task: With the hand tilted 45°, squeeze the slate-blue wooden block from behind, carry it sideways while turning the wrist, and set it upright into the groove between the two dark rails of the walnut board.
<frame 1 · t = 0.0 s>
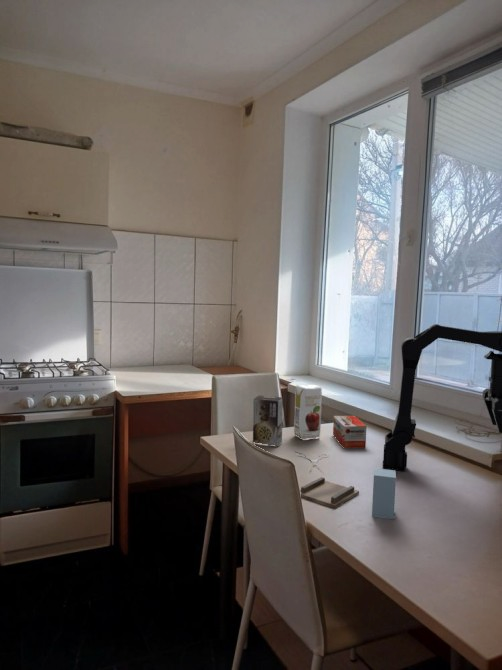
hand: (497, 428, 146), 15 cm above the table, tool pointing down, fingers open, 9 cm apart
medicine box: (348, 442, 179), on the table
slate-blue block: (382, 513, 121), on the table
juice carton: (306, 438, 183), on the table
walnut groove board: (327, 494, 132), on the table
scissors: (313, 464, 157), on the table
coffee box: (267, 444, 175), on the table
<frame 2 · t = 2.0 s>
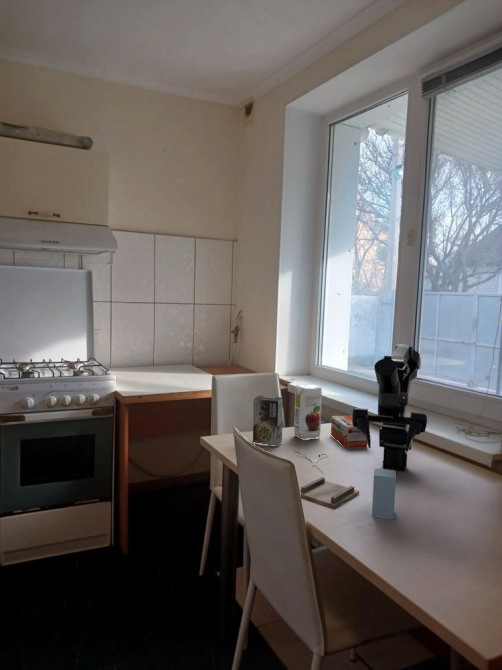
hand: (388, 449, 128), 13 cm above the table, tool tilted 45°, fingers open, 9 cm apart
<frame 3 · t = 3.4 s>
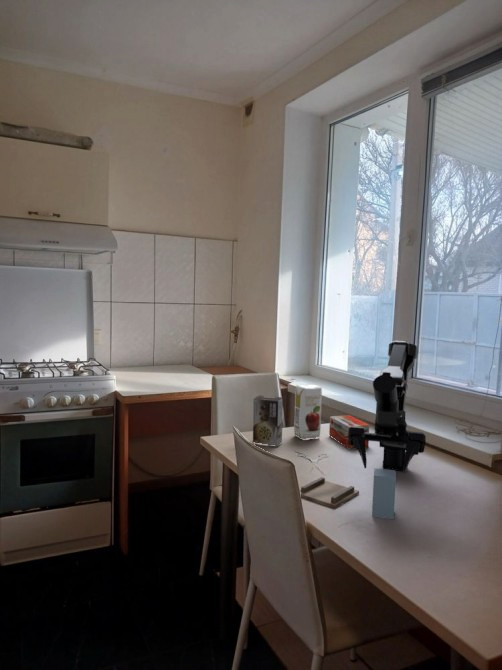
hand: (384, 469, 123), 10 cm above the table, tool tilted 45°, fingers open, 9 cm apart
nothing on the table moved.
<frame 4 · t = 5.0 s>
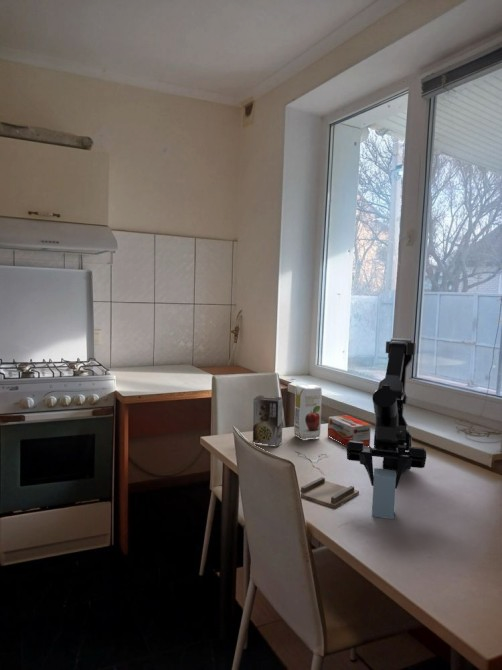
hand: (384, 486, 119), 7 cm above the table, tool tilted 45°, fingers closed on slate-blue block, 5 cm apart
slate-blue block: (382, 513, 121), on the table, touching gripper
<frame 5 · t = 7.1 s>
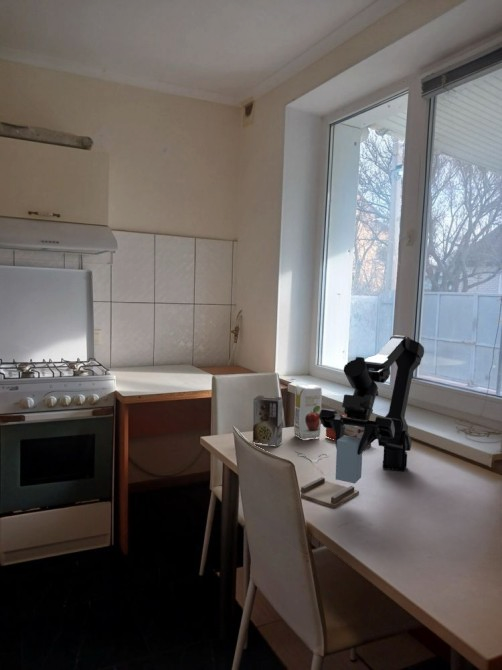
hand: (347, 452, 125), 13 cm above the table, tool tilted 45°, fingers closed on slate-blue block, 5 cm apart
slate-blue block: (348, 478, 126), point 6 cm above the table, touching gripper
when the fingers open (9 cm above the table, at t = 9.2 s): slate-blue block stays where it is, resting on walnut groove board.
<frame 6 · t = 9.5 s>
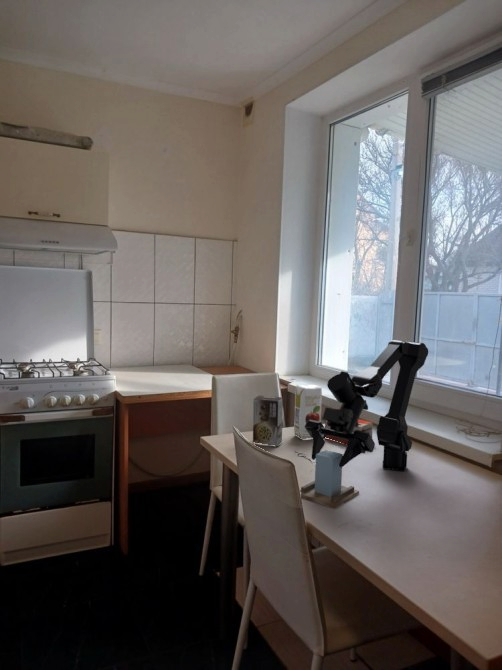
hand: (326, 462, 130), 9 cm above the table, tool tilted 45°, fingers open, 8 cm apart
slate-blue block: (327, 491, 132), point 1 cm above the table, touching walnut groove board
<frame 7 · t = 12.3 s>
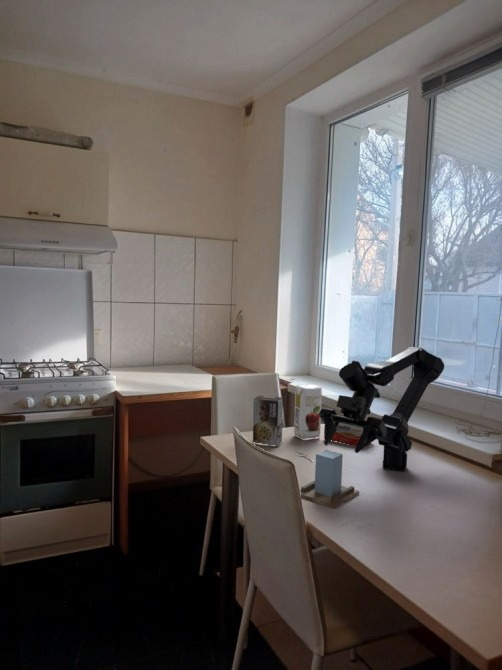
hand: (340, 448, 135), 11 cm above the table, tool tilted 45°, fingers open, 9 cm apart
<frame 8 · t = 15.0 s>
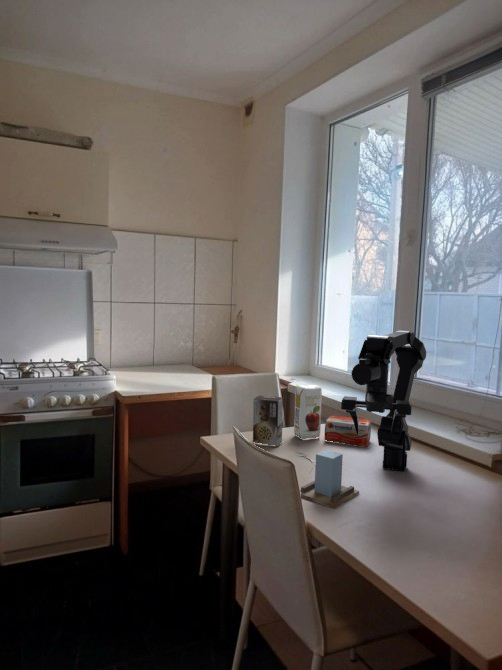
hand: (374, 435, 141), 13 cm above the table, tool pointing down, fingers open, 9 cm apart
at the end: slate-blue block 0.0 cm off-centre on the walnut groove board, point 0.8 cm above the walnut groove board's base; slate-blue block tilted 0°; the gripper is holding nothing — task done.
